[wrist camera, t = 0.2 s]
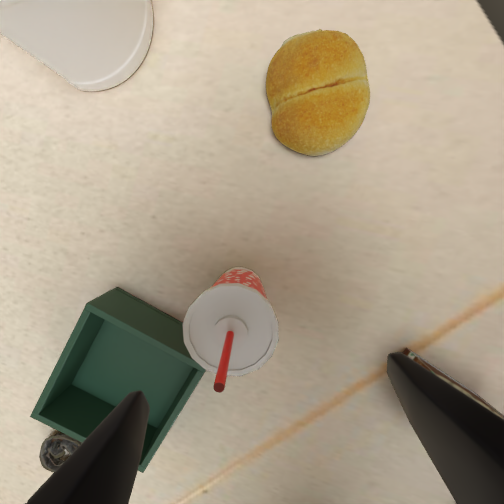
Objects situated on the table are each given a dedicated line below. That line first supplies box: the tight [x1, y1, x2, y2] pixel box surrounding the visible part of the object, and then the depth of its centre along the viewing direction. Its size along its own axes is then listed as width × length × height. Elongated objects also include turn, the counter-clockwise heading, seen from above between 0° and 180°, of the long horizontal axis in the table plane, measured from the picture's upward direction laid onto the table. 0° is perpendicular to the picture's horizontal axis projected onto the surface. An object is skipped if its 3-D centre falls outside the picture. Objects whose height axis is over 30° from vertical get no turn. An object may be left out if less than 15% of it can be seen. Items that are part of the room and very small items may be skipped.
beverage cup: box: [183, 267, 279, 392], centre depth 18 cm, size 6×6×14 cm
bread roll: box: [266, 29, 370, 156], centre depth 20 cm, size 8×9×4 cm
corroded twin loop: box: [39, 434, 82, 472], centre depth 27 cm, size 5×8×1 cm, turn 29°
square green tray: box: [30, 287, 206, 473], centre depth 24 cm, size 12×11×4 cm
